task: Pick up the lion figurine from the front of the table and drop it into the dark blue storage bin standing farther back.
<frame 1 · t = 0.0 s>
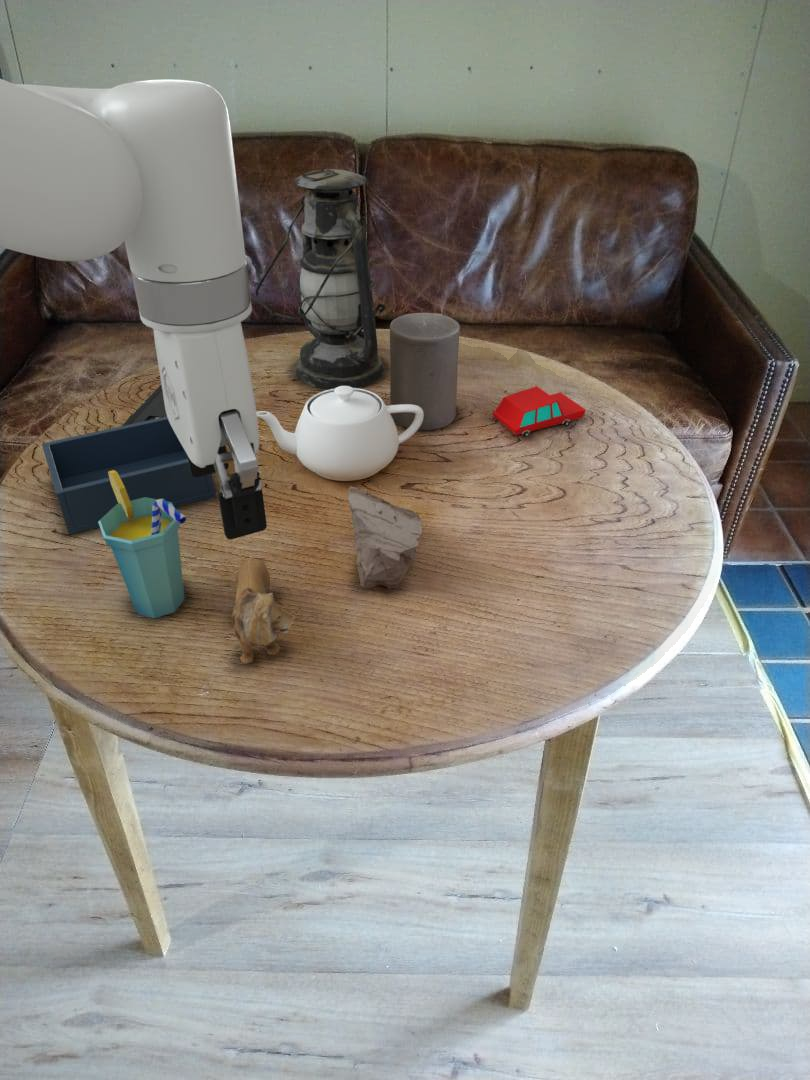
hand: (227, 500, 64), 19 cm above the table, tool pointing down, fingers open, 9 cm apart
toy car: (537, 421, 115), on the table
cup: (164, 606, 83), on the table
dark blue storage bin: (134, 489, 100), on the table
lantern: (329, 375, 127), on the table
teapot: (342, 464, 106), on the table
lion figurine: (263, 636, 79), on the table
stone: (383, 560, 89), on the table
vhs tape: (172, 418, 116), on the table
pillar candle: (423, 416, 116), on the table
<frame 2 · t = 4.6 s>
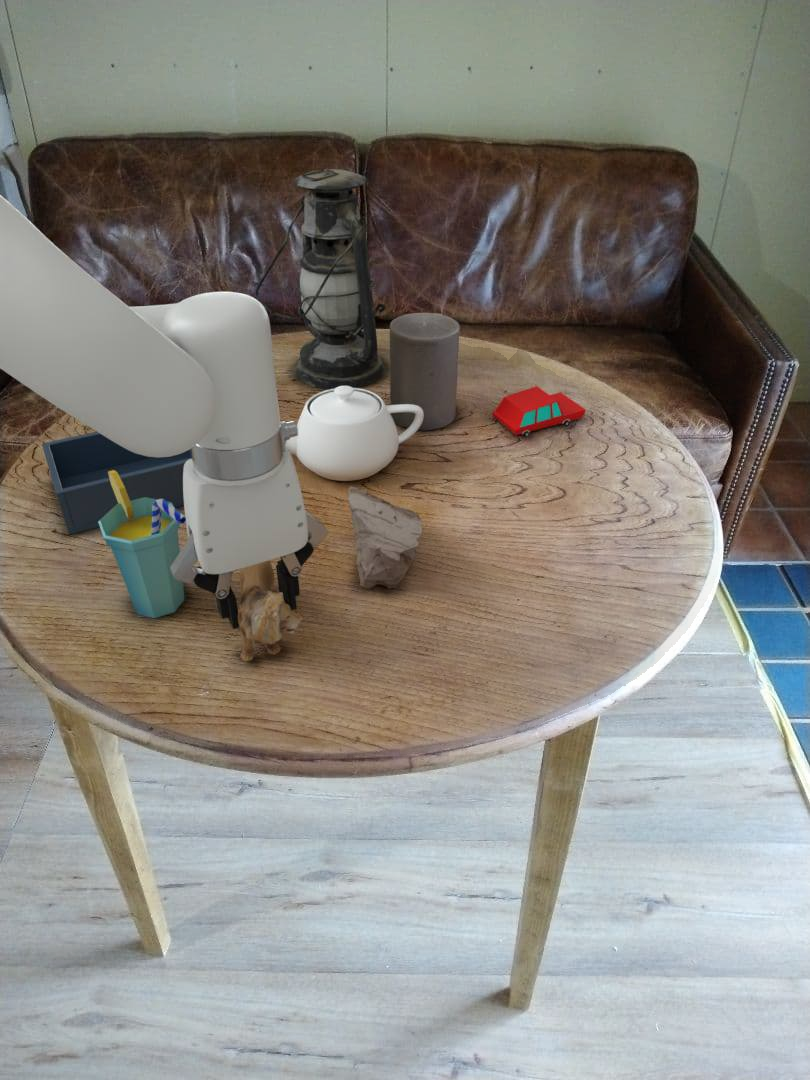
hand: (260, 609, 77), 4 cm above the table, tool pointing down, fingers closed on lion figurine, 5 cm apart
lion figurine: (263, 635, 79), on the table, touching gripper
everything else where it was.
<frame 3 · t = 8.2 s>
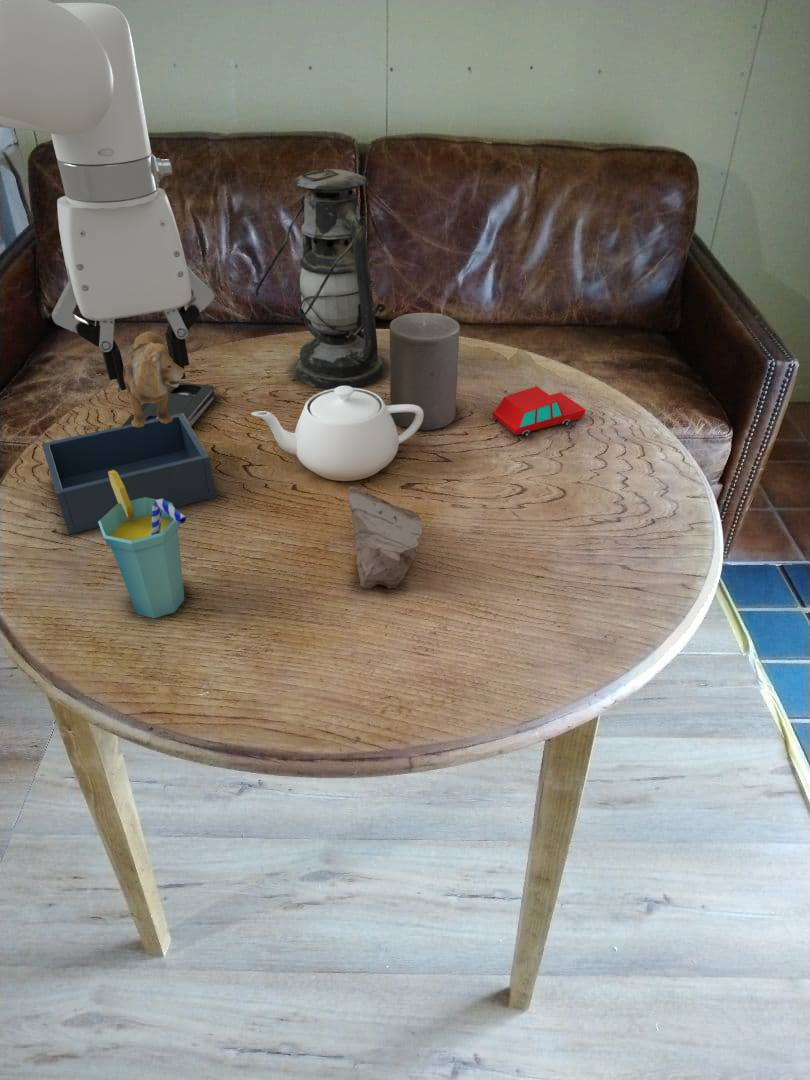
hand: (150, 377, 78), 21 cm above the table, tool pointing down, fingers closed on lion figurine, 4 cm apart
lion figurine: (158, 411, 80), point 17 cm above the table, touching gripper
everything else where it was.
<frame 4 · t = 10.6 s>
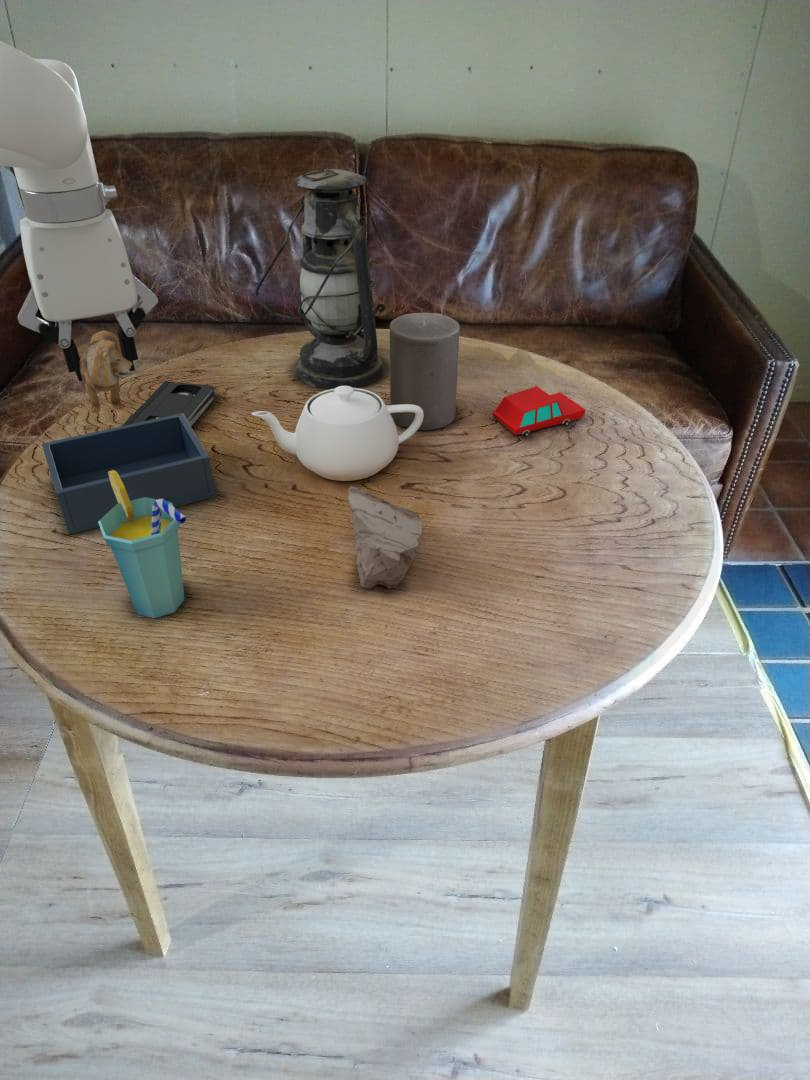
hand: (104, 369, 91), 16 cm above the table, tool pointing down, fingers closed on lion figurine, 4 cm apart
lion figurine: (112, 399, 93), point 12 cm above the table, touching gripper
everything else where it was.
when the fingers open (6 cm above the table, at t = 13.0 s): lion figurine stays where it is, resting on dark blue storage bin.
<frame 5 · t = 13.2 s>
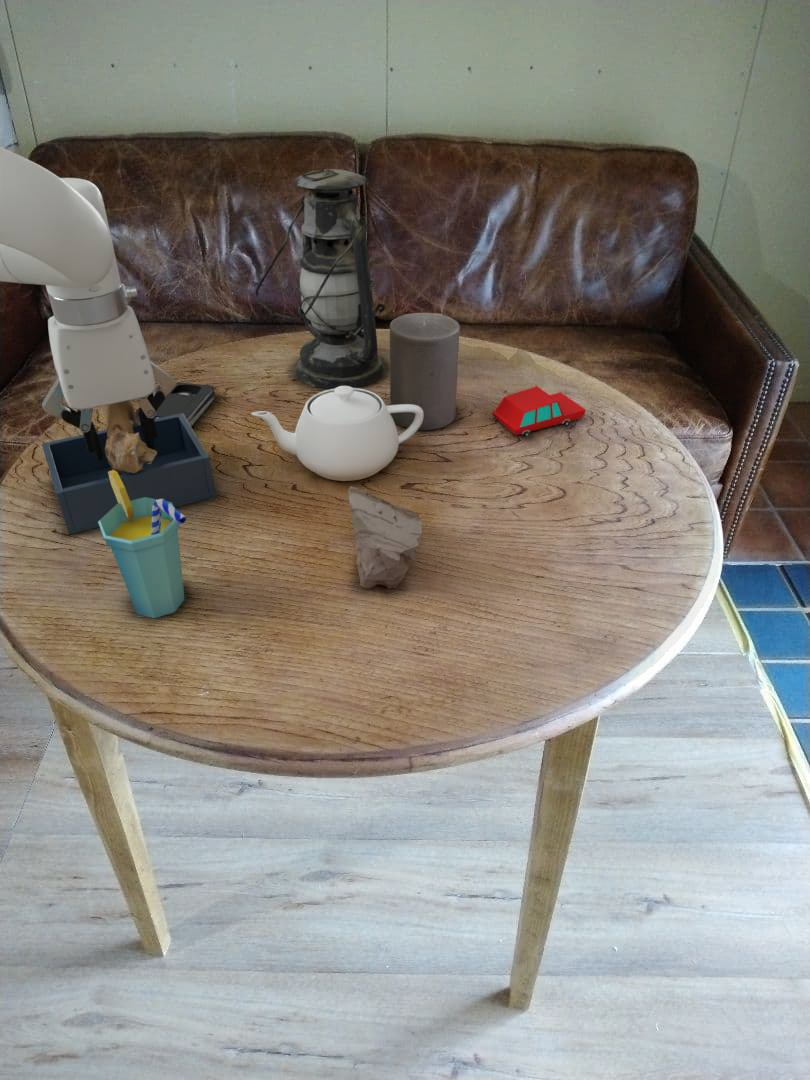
hand: (124, 448, 97), 6 cm above the table, tool pointing down, fingers open, 5 cm apart
lion figurine: (131, 459, 99), point 4 cm above the table, touching dark blue storage bin
everything else where it was.
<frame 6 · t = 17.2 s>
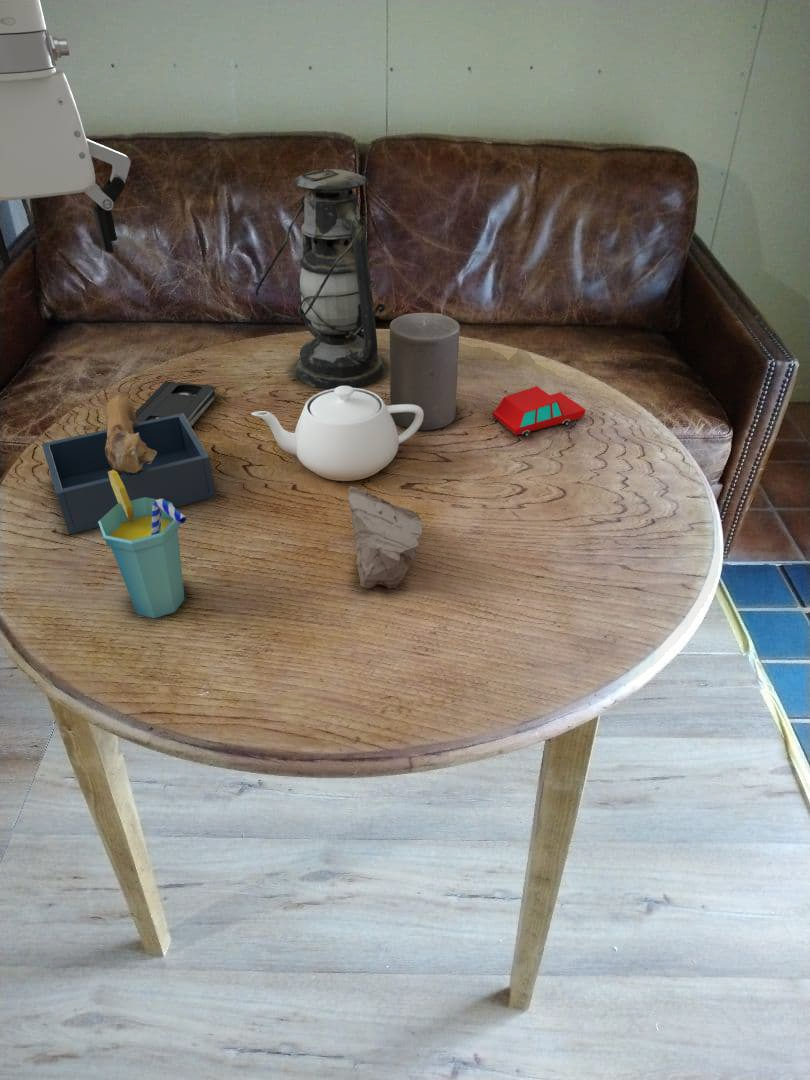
hand: (58, 255, 79), 30 cm above the table, tool pointing down, fingers open, 9 cm apart
nothing on the table moved.
at the end: lion figurine inside the target area in the dark blue storage bin (0.9 cm from its centre), point 3.9 cm above the dark blue storage bin's base; the gripper is holding nothing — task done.
